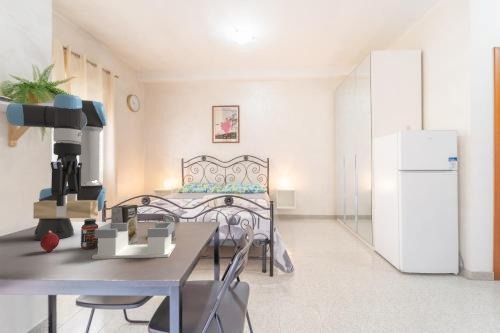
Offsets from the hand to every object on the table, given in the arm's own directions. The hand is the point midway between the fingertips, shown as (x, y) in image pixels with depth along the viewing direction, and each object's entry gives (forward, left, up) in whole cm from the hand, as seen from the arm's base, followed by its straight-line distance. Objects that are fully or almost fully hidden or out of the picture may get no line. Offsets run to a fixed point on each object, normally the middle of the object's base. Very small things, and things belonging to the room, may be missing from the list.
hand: (66, 214), depth 88 cm
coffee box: (-26, +9, -17) cm, 32 cm away
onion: (-17, -15, -17) cm, 28 cm away
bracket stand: (-14, +18, -17) cm, 28 cm away
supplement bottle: (-22, -3, -17) cm, 28 cm away
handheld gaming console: (-35, +22, -17) cm, 45 cm away
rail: (0, 0, -1) cm, 1 cm away
